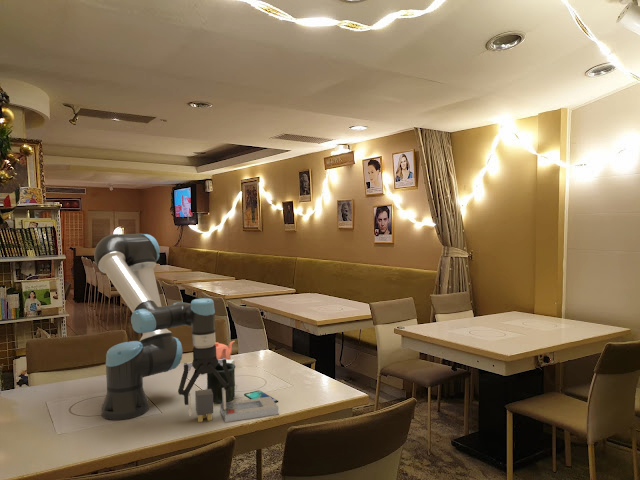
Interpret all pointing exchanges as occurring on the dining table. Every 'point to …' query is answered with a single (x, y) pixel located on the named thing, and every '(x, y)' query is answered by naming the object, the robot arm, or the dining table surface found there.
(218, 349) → the teapot
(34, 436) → the dining table surface
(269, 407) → the socket
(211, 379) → the mug
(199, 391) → the plug
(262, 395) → the smartphone
